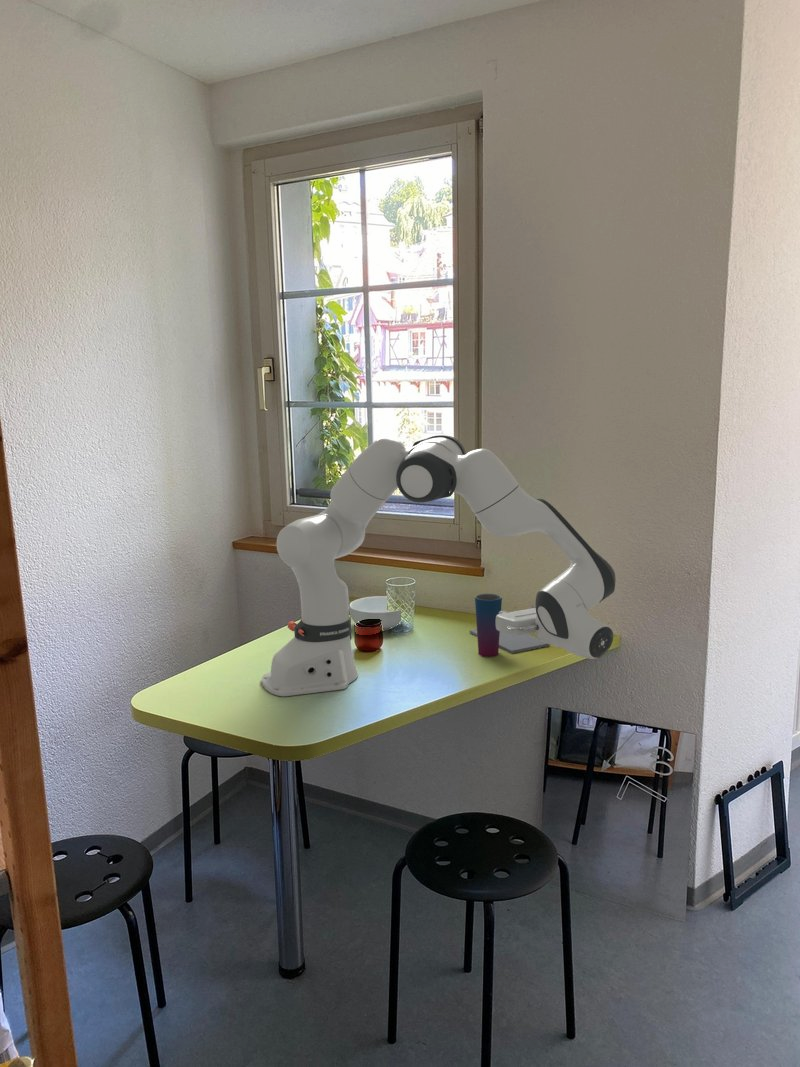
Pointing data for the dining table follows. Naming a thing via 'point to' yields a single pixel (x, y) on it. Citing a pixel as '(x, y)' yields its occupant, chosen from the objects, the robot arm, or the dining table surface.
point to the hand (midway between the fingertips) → (517, 611)
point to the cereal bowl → (374, 611)
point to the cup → (487, 623)
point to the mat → (517, 642)
